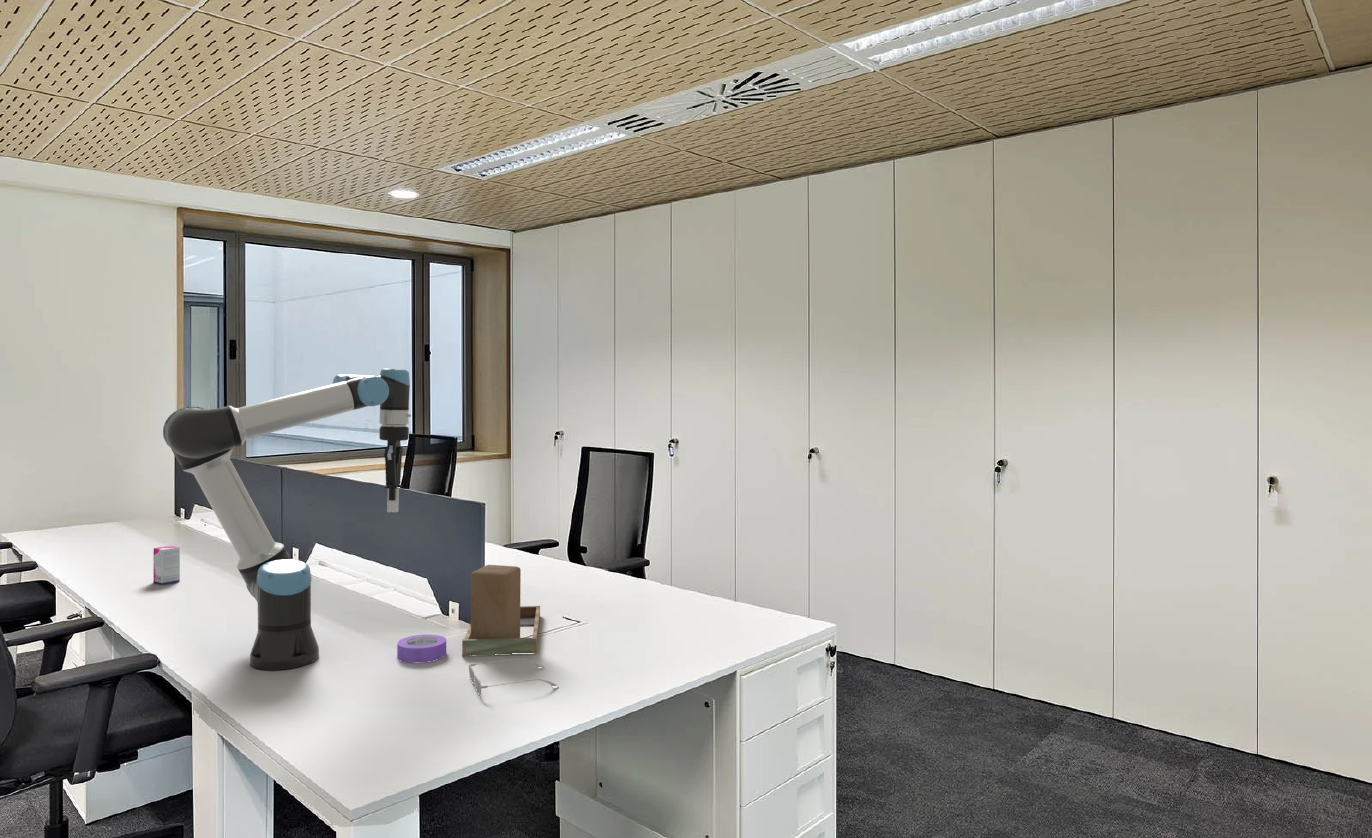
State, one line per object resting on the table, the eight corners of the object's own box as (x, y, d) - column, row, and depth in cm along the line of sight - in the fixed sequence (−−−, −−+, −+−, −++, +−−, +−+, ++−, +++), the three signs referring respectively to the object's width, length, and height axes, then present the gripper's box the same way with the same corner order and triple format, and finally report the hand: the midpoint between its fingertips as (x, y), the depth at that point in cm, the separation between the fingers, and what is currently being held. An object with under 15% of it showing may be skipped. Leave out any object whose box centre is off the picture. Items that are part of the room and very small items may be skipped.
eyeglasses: (467, 678, 199) (467, 661, 199) (543, 669, 206) (544, 652, 206) (479, 702, 185) (479, 684, 184) (561, 691, 192) (561, 673, 192)
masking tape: (407, 647, 219) (407, 633, 219) (452, 649, 219) (452, 634, 219) (389, 663, 207) (389, 647, 207) (437, 664, 207) (437, 649, 207)
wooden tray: (535, 654, 215) (535, 638, 215) (462, 656, 212) (462, 640, 212) (540, 616, 249) (540, 602, 248) (476, 617, 246) (476, 603, 246)
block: (505, 653, 216) (506, 574, 215) (469, 649, 218) (469, 572, 217) (521, 641, 225) (522, 565, 224) (486, 638, 228) (486, 563, 226)
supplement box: (180, 581, 281) (180, 547, 281) (161, 585, 276) (161, 550, 276) (171, 579, 284) (171, 544, 284) (152, 582, 279) (152, 547, 279)
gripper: (404, 427, 227) (402, 515, 228) (412, 424, 240) (411, 508, 241) (374, 426, 226) (373, 515, 227) (384, 423, 239) (383, 508, 240)
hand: (392, 511), depth 234 cm, fingers closed
